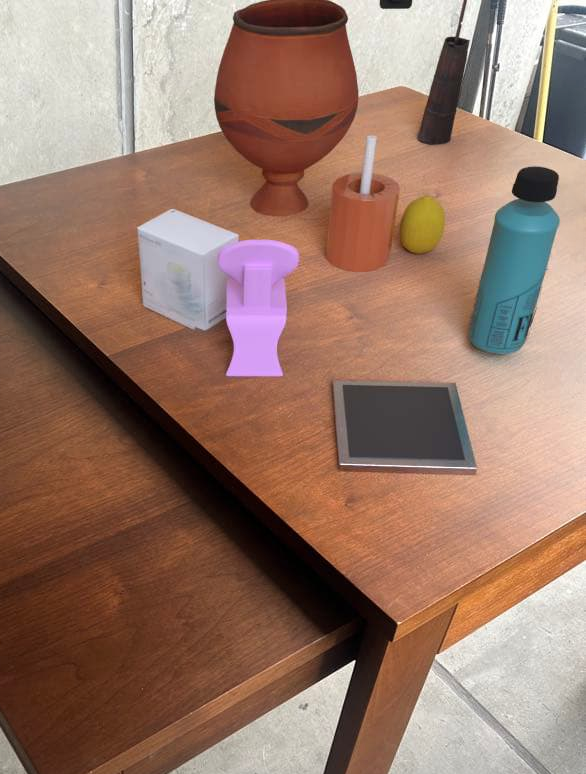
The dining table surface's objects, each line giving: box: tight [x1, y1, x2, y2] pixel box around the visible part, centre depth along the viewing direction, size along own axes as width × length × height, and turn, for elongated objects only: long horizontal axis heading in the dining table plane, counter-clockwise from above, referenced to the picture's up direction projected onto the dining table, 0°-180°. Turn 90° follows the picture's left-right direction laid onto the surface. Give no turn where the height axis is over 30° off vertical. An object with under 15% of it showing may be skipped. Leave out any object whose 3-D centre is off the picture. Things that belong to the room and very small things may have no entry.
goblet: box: [213, 0, 359, 218], centre depth 116 cm, size 19×19×25 cm
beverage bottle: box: [467, 165, 561, 355], centre depth 91 cm, size 6×7×20 cm
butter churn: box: [417, 0, 471, 145], centre depth 130 cm, size 9×10×28 cm
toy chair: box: [218, 239, 300, 377], centre depth 93 cm, size 8×9×15 cm
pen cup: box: [325, 172, 401, 273], centre depth 109 cm, size 8×8×10 cm
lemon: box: [399, 194, 446, 255], centre depth 111 cm, size 6×6×8 cm
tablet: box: [331, 379, 478, 476], centre depth 88 cm, size 13×14×1 cm
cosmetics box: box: [136, 208, 240, 331], centre depth 101 cm, size 10×6×10 cm, turn 47°
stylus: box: [360, 135, 378, 194], centre depth 107 cm, size 1×1×15 cm
